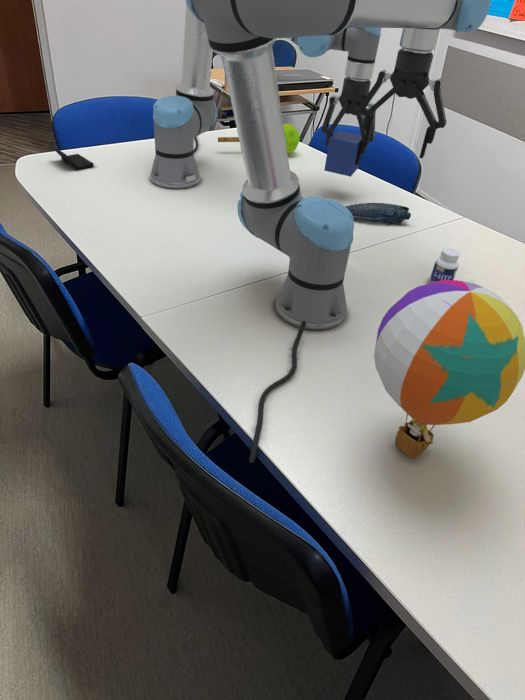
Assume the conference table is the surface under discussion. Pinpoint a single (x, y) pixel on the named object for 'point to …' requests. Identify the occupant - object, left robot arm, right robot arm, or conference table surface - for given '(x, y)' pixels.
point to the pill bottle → (445, 265)
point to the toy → (448, 357)
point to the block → (342, 153)
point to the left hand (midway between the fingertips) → (343, 160)
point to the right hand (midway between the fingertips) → (393, 151)
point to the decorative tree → (290, 137)
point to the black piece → (74, 160)
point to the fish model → (379, 212)
